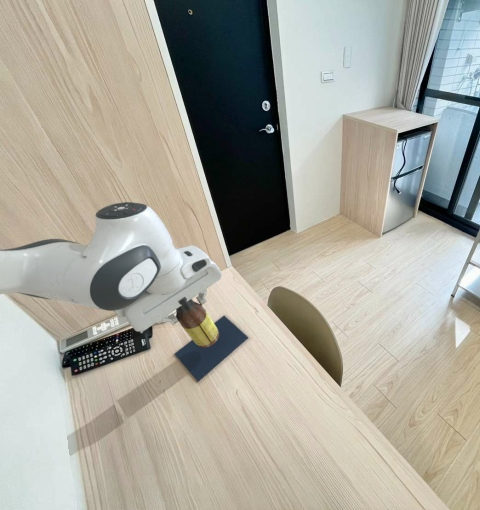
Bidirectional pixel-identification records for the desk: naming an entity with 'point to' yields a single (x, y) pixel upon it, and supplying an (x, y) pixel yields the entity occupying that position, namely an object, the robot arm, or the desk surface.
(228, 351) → the cloth
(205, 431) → the desk surface
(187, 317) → the sauce bottle
